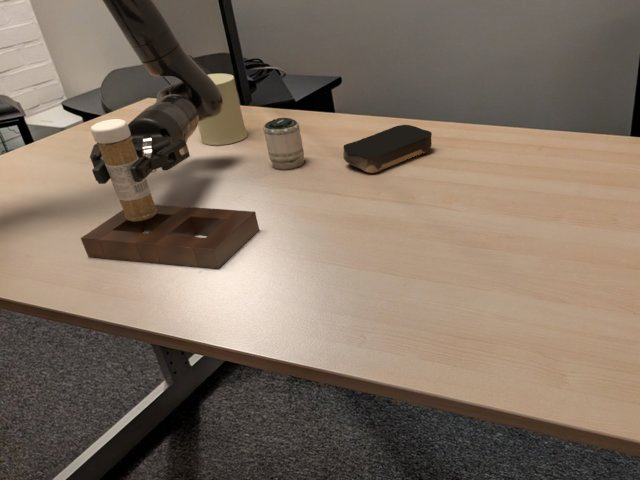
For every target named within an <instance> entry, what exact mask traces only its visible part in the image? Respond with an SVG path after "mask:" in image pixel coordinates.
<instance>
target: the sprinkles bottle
mask: <svg viewBox="0 0 640 480" xmlns="http://www.w3.org/2000/svg"><path fill="white" fill-rule="evenodd" d="M90 131H91V134H92V137H93V140H94V142H95V143H96V144H97V145H98V146H99V149H100V151H101V154H102V156H103V159H104V162H105V166H106V168H107V171H108V173H109V176H110V179H109V180H111V181H110V182H111V184H112V187H113V189H114V191H115V194H116V197H117V199H118V200H119V203H120V205H121V208H122V210H123V211H124V213H125V218H126V219H127V220H129V221H143V220H147V219H150V218H152V217H153V216H154V215H156V214H157V211H158V210H157V208H156V207H155V205H156V204H155V201H154V199H153V197H152V193H151V189H150V186H149V183H148V180H147V177H146V178H144V179H143V180H142V181H141V182H135V181H134V179H133V176H132V173H131V170H130V168H131V166H132V165H133V164H134V163H135V162H136V161H137V160H138V159H139V157H138V156H137V153H136V151H135V148H134V145H133V142H132V140H131V133H130V130H129V127H128V123H127V121H126V120H124V119H120V118H113V119H106V120H102V121H98V122H96V123H93V124H92V125H91V127H90Z"/></svg>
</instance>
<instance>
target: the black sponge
mask: <svg viewBox="0 0 640 480" xmlns="http://www.w3.org/2000/svg"><path fill="white" fill-rule="evenodd" d="M432 135H433V132H431V131H430V130H427V129H423V128H421V127H418V126H415V125H410V124H400V125H396V126H393V127H390V128H387V129H385V130H382V131H380V132H377V133H375V134H372V135H369V136H367V137H363V138H361V139H358V140H356V141H352V142H348V143H346V144H344V145H343V160H344V161H345V162H346V163H347V164H349V165H350V166H353V167H355V168H357V169H360V170H361V171H364V172H366V173H369V174H376V173H379V172H381V171H383V170H387V169H388V168H390V167H392V166H393V167H394V166H395V165H398V164H400V163H402V162H405V161H408V160H410V159H412V157H413V158H416V157H418V156H420V155H423V154H427V153H428V152H430V150H431V149H432ZM422 153H423V154H422ZM417 155H418V156H417ZM415 156H416V157H415ZM407 159H408V160H407Z"/></svg>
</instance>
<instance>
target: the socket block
mask: <svg viewBox="0 0 640 480" xmlns="http://www.w3.org/2000/svg"><path fill="white" fill-rule="evenodd" d="M155 207H156V208H157V210H158V211H157V214H156V215H154V216H153V217H152V218H150V219H147V220H143V221H129V220H127V219H126V218H125V213H124V211H123V209H122V210H120V211H119V212H117V213H116V214H114V215H113V216H111V217H109V218H108V219H107V220H106V221H104V222H102V223H101V224H100V225H97V226H96V227H94V228H93V229H92V230H90V231H89V232H87V233H86V234H84V235H83V236H81V237H80V240H81V243H82V245H83V248H84V251H85V253H86V255H87V257H88V258H96V259H98V258H99V259H108V260H118V261H129V262H138V263H139V262H140V263H151V264H161V265H173V266H183V267H192V268H193V267H194V268H205V269H206V268H208V269H216V270H217V269H220V268H221V267H222V266H223V265H224V264H225V263H226V262H227V261H229V259H231V257H232V256H234V255H235V254H236V253H237V252H238V251H239V250H240V249H241V248H242V247H243V246H244V245H245V244H246V243H248V241H249V240H250V239H252V238H253V236H255V235H256V234H257V232H259V231H260V226H259V222H258V217H257V214H256V211H254V210H252V211H250V210H240V209H239V210H237V209H226V208H225V209H224V208H211V207H209V208H208V207H197V206H196V207H195V206H194V207H193V206H182V205H181V206H180V205H169V204H155ZM144 231H147V232H144ZM196 235H200V237H199V236H196ZM201 236H206V237H201Z"/></svg>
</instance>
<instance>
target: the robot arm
mask: <svg viewBox="0 0 640 480" xmlns="http://www.w3.org/2000/svg"><path fill="white" fill-rule="evenodd" d="M102 2H103V4H104V5H105V7H106V9H107V10H108V11H109V13H110V15H111V17H112V18H113V20H114V21H115V23H116V24H117V26H118V28H119V29H120V31H121V32H122V34H123V36H124V37H125V39H126V41H127V42H128V44H129V45H130V47H131V49H132V50H133V51H134V53H135V55H136V56H137V58H138V59H139V61H140V62H141V64H142V65H143V67H144V68H145V70H146V71H147V72H148V74H150V75H151V76H153V77H158V78H159V77H160V78H161V77H172V78H173V77H174V78H177V79H178V80H179V82H176V83H173V84H169V85H167V86H165V87H163V88H162V89H160V90H159V91H158V92H157V95H156V100H155V102H154V103H153V104H152V105H149V106H148V107H146V108H144V109H143V110H142V111H141V112H140V113H139V114H138V115H137V116H136V117H134V118H133V119H132V120H131V121H129V122H128V123H127V125H128V127H129V130H130V133H131V140H132V142H133V145H134V148H135V151H136V153H137V156H138V157H139V159H138V160H137V161H136V162H135V163H134V164H133V165H132V166H131V168H130V170H131V173H132V176H133V179H134V181H135V182H141V181H142V180H143V179H144V178H146V179H147V178H148V177H149V176H150V174H153V173H156V172H157V171H158V169H161V170H162V171H169V170H171V169H173V168H174V167H176V166H177V165H179V164H181V163H182V162H183V161H185V160H187V159H188V158H190V157H191V154H190V150H189V148H188V144H187V142H188V140H189V138H190V137H191V136H192V135H193V134H194V132H196V129H197V127H198V122H200V121H203V120H206V119H209V118H212V117H215V116H217V115H218V114H219V113H220V112H221V110H222V107H223V99H222V95H221V93H220V91H219V89H218V87H217V86H216V84H215V83H214V82H213V81H212V79H211V78H210V77H209V76H208V74H207V73H206V72H205V71H204V70H203V68H201V67H200V66H199V65H198V64H197V63H196V62H195V61H194V59H192V57H191V56H190V55H189V54H188V53H187V51H186V50H185V49H184V48H183V47H182V44H181V43H180V41H179V39H178V38H177V36H176V34H175V33H174V31H173V29H172V28H171V26H170V24H169V23H168V21H167V20H166V18H165V16H164V15H163V13H162V12H161V11H160V9H159V7H158V6H157V5H156V3H155V2H154V1H153V0H102ZM89 159H90V161H91V164H92V166H93V168H92V169H91V170H92V171H91V172H92V174H93V176H94V177H93V178H94V179H95V182H97V183H98V185H105V184H107V183H108V181H110V180H111V179H110V176H109V173H108V171H107V168H106V166H105V162H104V159H103V156H102V154H101V151H100V149H99V146H98V145H97V143H95V144H94V145H93V146H92V149H91V153H90V155H89Z"/></svg>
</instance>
